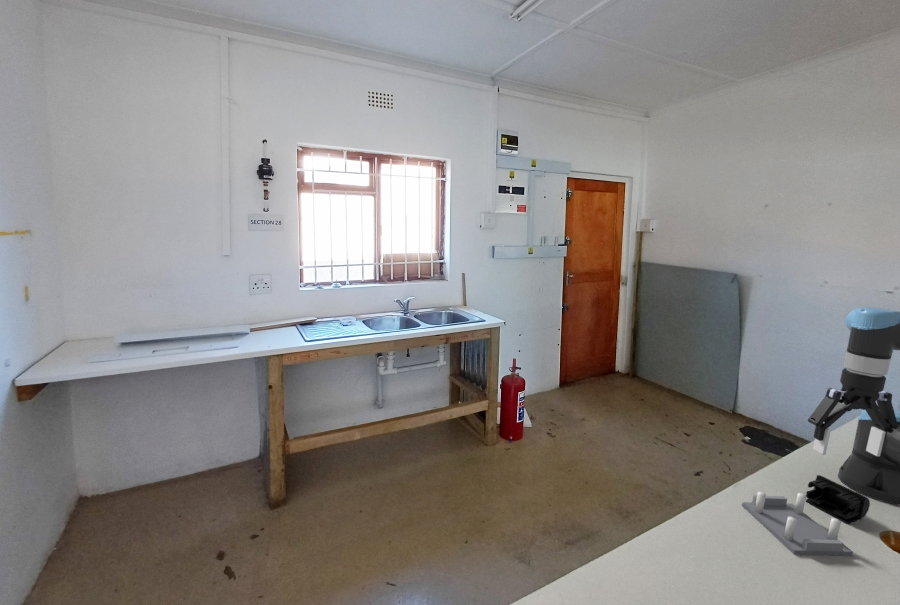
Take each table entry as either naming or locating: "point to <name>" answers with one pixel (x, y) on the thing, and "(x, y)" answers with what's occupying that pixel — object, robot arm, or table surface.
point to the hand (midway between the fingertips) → (845, 452)
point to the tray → (796, 526)
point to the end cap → (837, 500)
